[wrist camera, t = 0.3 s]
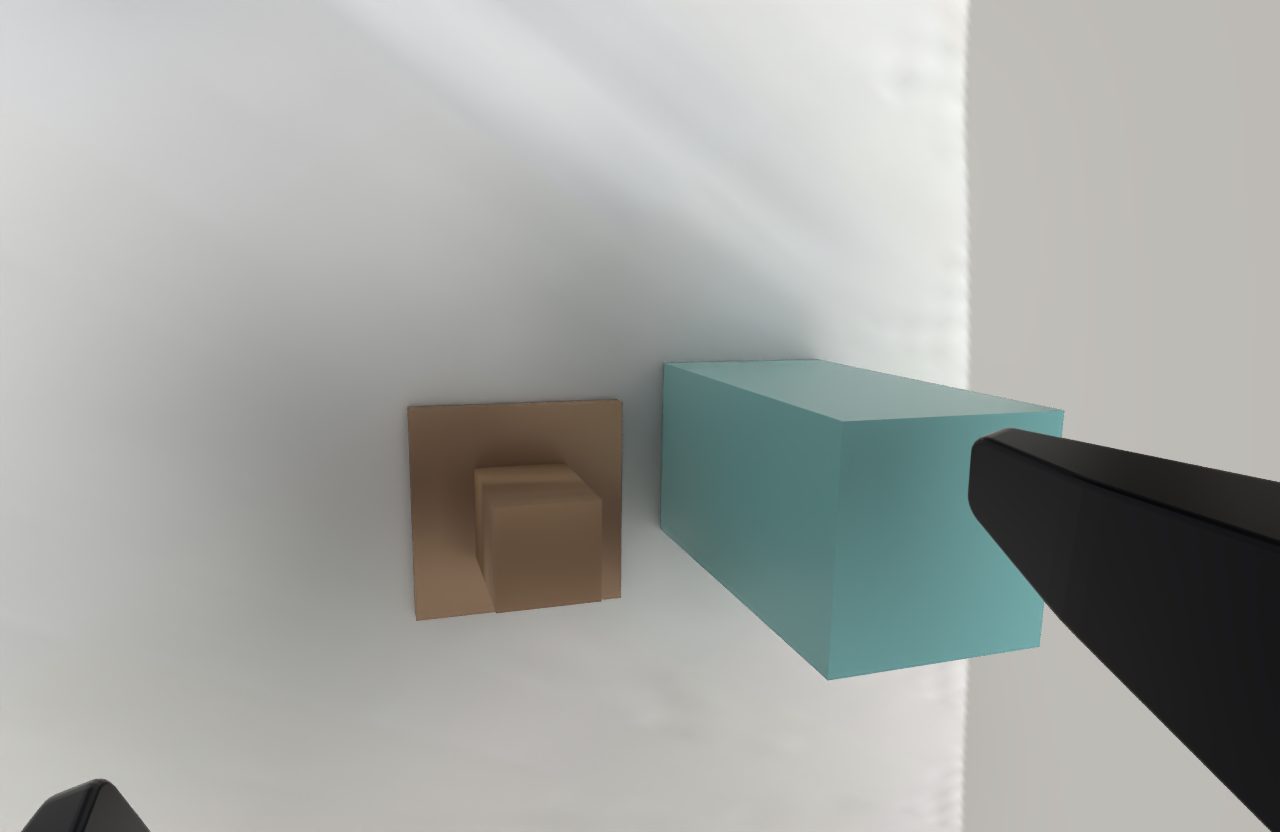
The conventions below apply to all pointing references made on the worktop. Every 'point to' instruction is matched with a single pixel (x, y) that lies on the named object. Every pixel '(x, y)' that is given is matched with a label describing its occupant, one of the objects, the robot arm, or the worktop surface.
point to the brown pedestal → (515, 505)
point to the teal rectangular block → (845, 509)
